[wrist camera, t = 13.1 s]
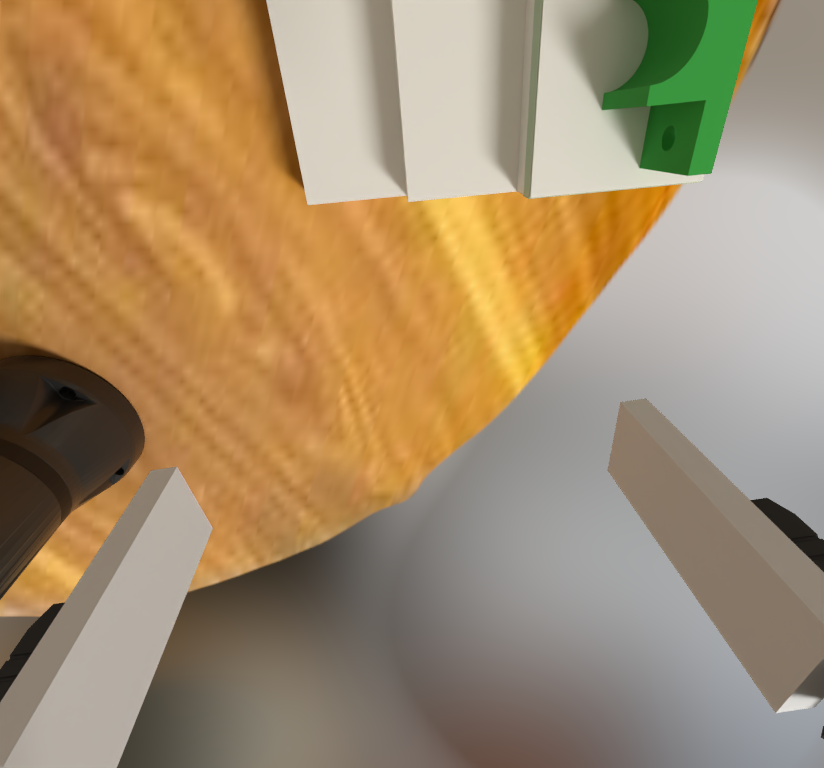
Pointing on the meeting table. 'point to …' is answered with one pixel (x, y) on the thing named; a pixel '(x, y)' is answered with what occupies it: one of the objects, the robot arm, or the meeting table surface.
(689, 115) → the pipe clamp
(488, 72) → the stepped riser
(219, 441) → the meeting table surface
